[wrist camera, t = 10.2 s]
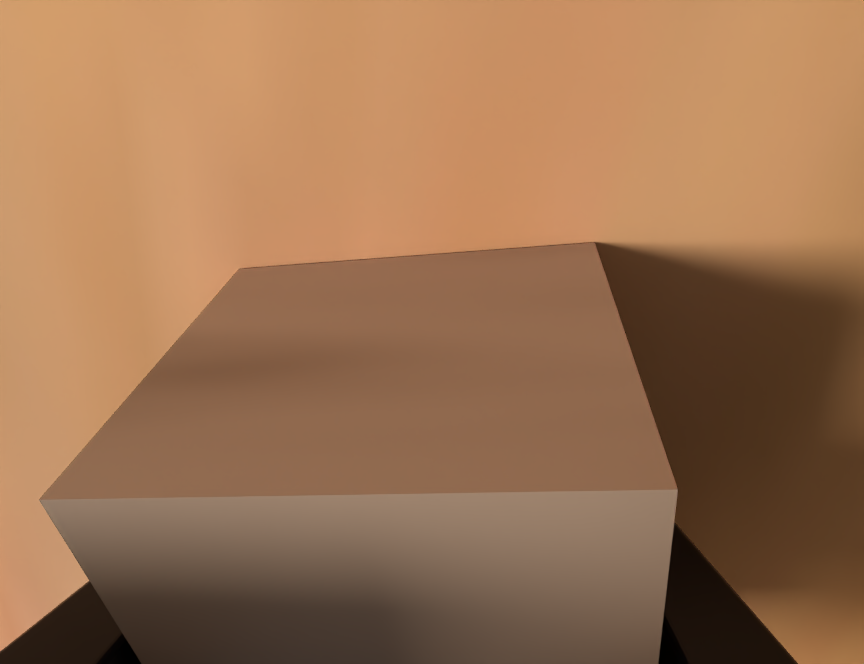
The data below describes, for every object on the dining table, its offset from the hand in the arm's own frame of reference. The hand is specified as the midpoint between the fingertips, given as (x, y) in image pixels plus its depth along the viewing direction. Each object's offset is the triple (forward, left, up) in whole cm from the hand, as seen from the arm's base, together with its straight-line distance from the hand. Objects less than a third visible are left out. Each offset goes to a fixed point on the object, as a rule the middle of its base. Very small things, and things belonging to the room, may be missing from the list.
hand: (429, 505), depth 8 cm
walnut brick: (0, 0, -1) cm, 1 cm away
